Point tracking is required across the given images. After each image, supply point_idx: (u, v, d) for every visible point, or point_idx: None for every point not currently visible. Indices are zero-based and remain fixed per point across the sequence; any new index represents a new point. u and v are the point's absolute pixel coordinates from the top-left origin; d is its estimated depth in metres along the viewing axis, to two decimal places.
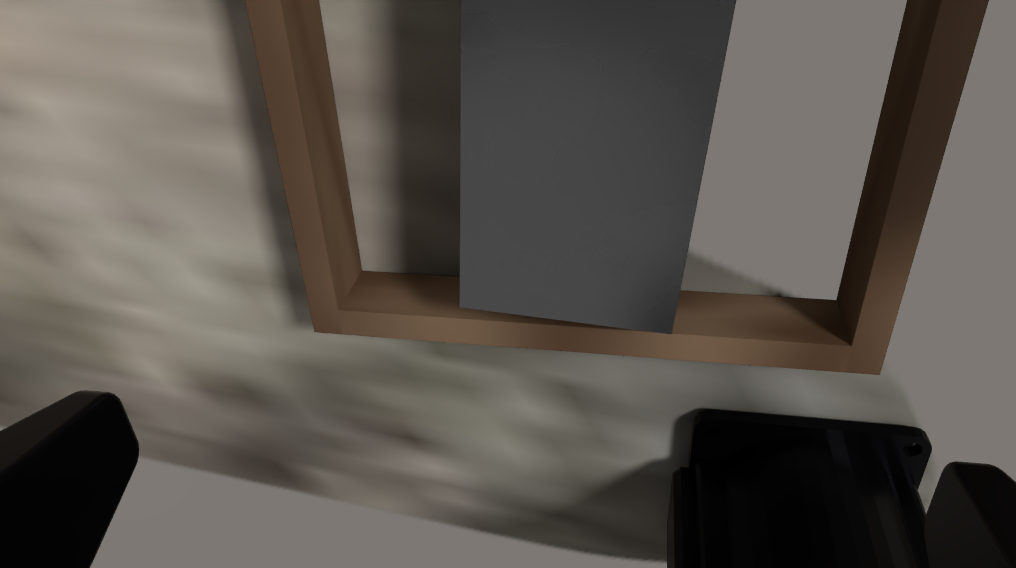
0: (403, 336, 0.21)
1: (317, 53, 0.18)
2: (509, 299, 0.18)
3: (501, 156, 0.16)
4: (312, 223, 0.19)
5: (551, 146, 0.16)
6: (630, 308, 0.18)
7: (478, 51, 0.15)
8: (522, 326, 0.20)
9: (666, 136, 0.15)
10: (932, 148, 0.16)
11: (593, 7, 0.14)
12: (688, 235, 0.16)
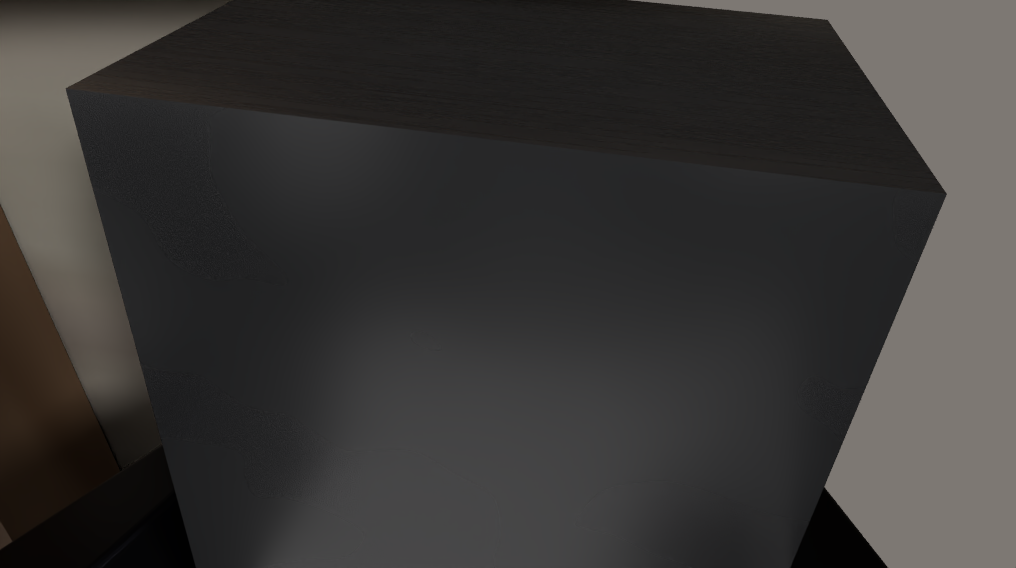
0: None
1: (2, 301, 0.10)
2: None
3: None
4: None
5: None
6: None
7: (202, 443, 0.06)
8: None
9: None
10: None
11: (470, 391, 0.05)
12: None
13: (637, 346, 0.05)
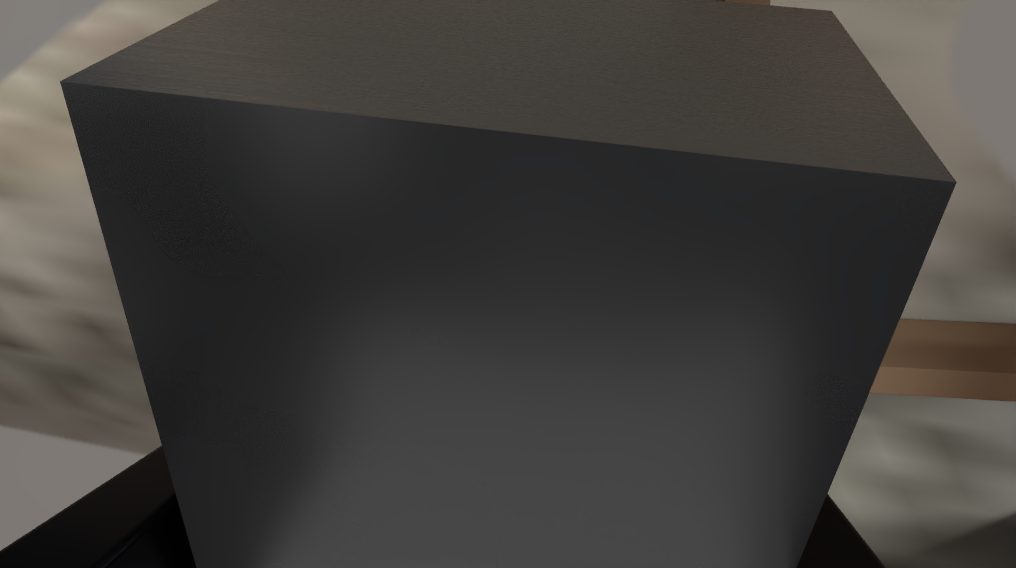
0: None
1: None
2: None
3: None
4: None
5: None
6: None
7: (201, 442, 0.06)
8: (955, 374, 0.18)
9: None
10: None
11: (471, 387, 0.05)
12: None
13: (641, 341, 0.05)
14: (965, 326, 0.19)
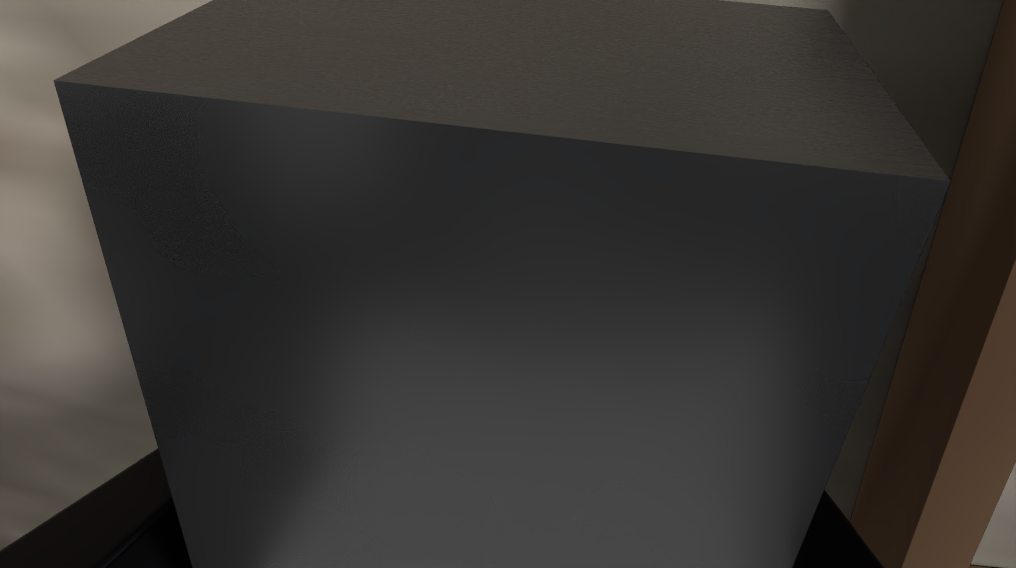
0: None
1: None
2: None
3: None
4: (952, 555, 0.10)
5: None
6: None
7: (197, 442, 0.06)
8: None
9: None
10: None
11: (465, 387, 0.05)
12: None
13: (636, 341, 0.05)
14: None
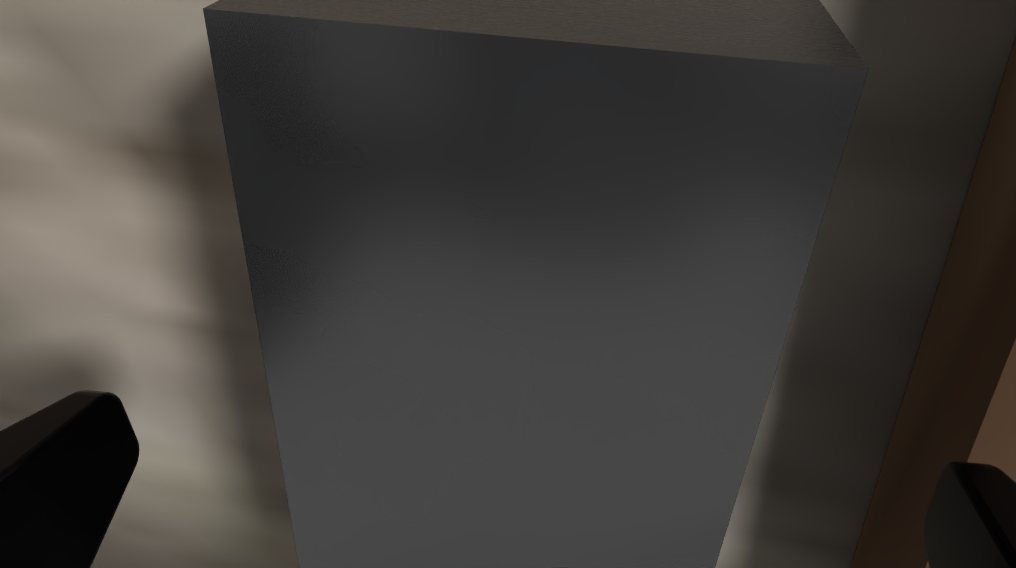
0: None
1: None
2: None
3: (354, 472, 0.09)
4: None
5: (445, 466, 0.08)
6: None
7: (289, 313, 0.08)
8: None
9: (659, 467, 0.08)
10: None
11: (508, 253, 0.07)
12: None
13: (640, 207, 0.06)
14: None
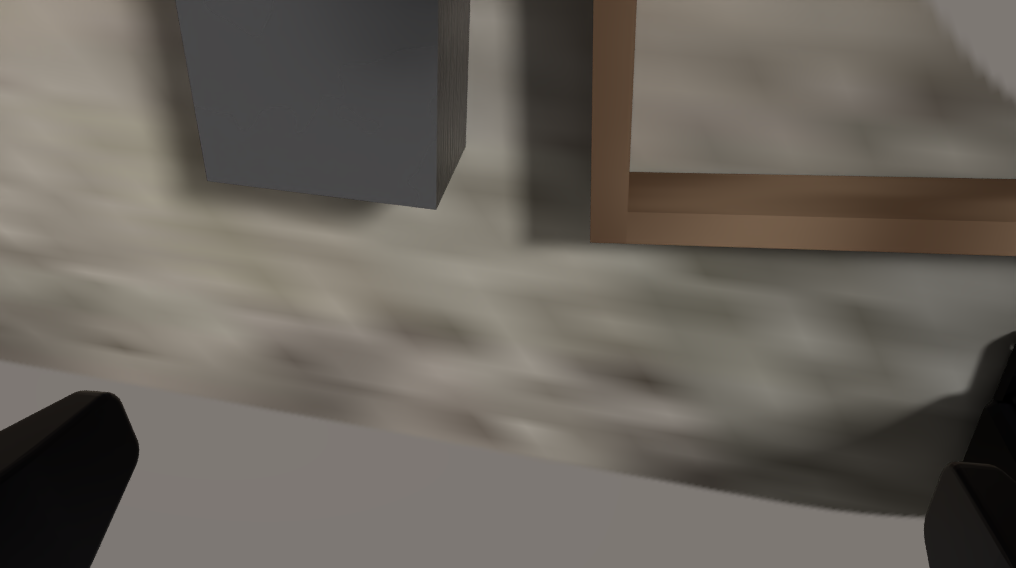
0: (706, 243, 0.17)
1: None
2: (258, 170, 0.16)
3: None
4: (620, 96, 0.15)
5: None
6: (387, 179, 0.16)
7: None
8: (868, 222, 0.16)
9: None
10: None
11: None
12: (434, 88, 0.15)
13: None
14: (882, 181, 0.17)
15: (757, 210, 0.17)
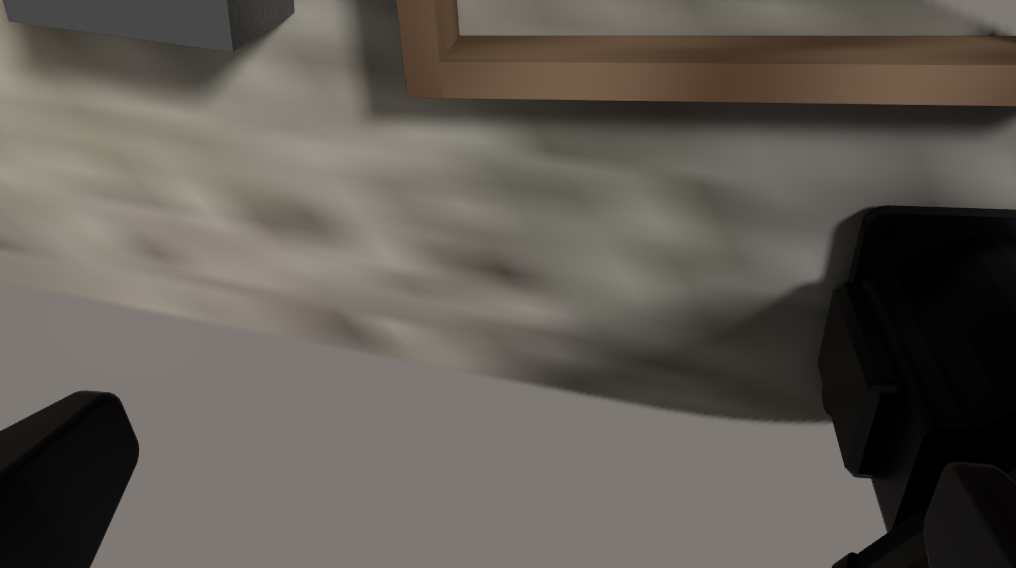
0: (520, 95, 0.17)
1: None
2: (55, 8, 0.16)
3: None
4: None
5: None
6: (181, 17, 0.16)
7: None
8: (677, 68, 0.16)
9: None
10: None
11: None
12: None
13: None
14: (707, 38, 0.17)
15: (569, 59, 0.16)
